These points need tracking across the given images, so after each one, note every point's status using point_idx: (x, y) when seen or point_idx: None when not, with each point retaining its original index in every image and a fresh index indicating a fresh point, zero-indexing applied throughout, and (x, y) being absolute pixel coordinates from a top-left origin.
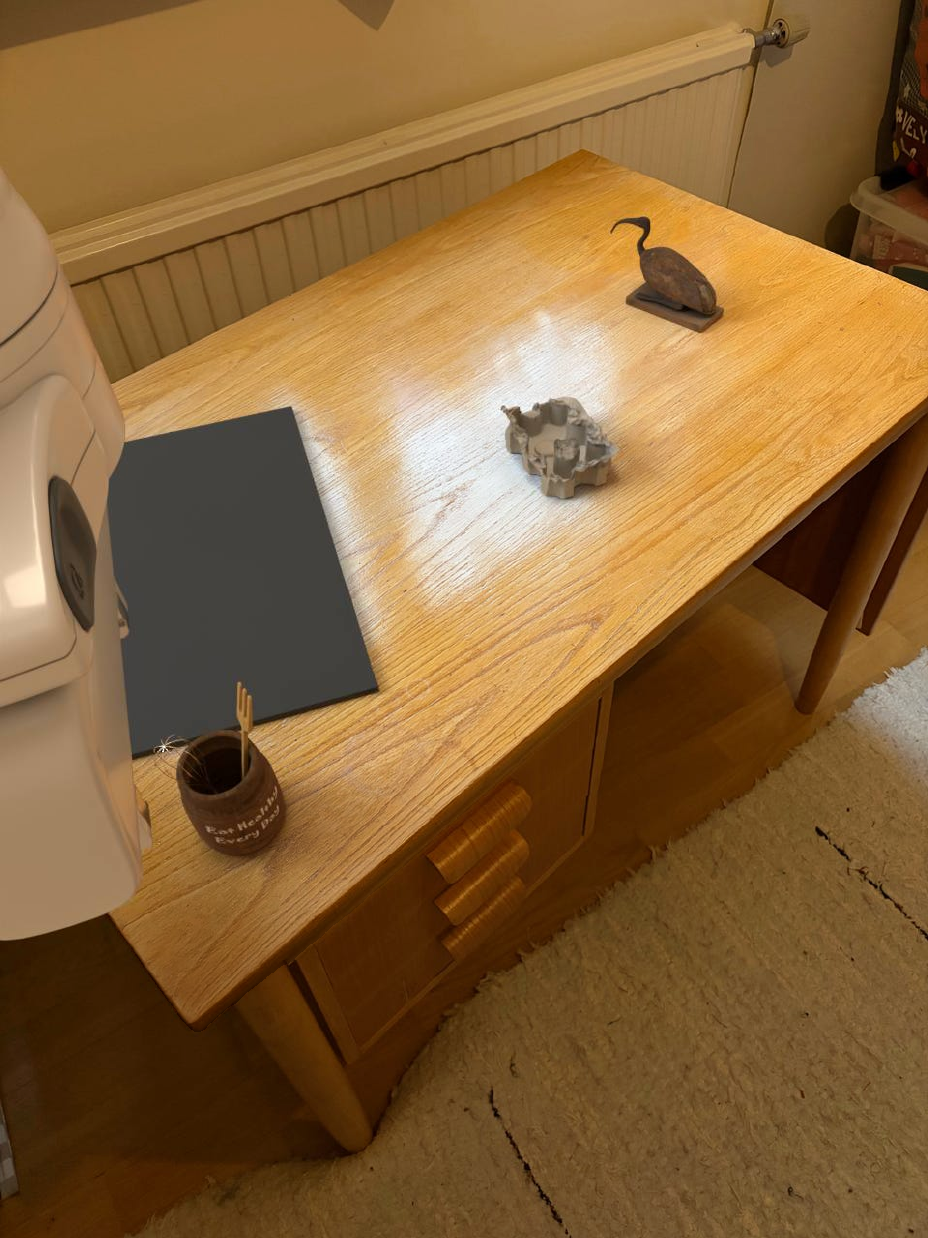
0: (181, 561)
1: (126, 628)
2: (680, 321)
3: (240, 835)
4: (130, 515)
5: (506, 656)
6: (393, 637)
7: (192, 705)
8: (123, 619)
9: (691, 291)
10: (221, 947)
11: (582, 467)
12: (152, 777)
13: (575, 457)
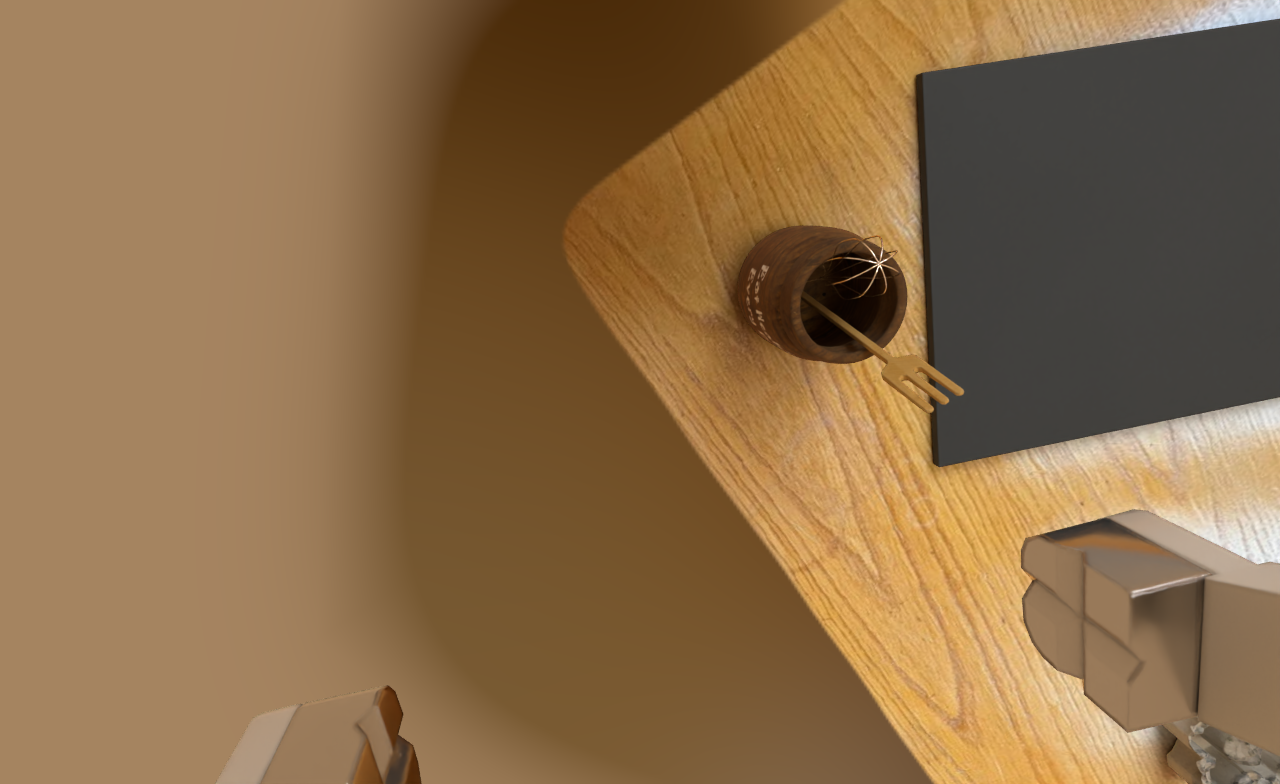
0: (1254, 176)
1: (1050, 659)
2: None
3: (751, 305)
4: None
5: (939, 620)
6: (1011, 485)
7: (981, 209)
8: (1082, 677)
9: None
10: (620, 261)
11: (1203, 766)
12: (881, 151)
13: (1224, 753)
